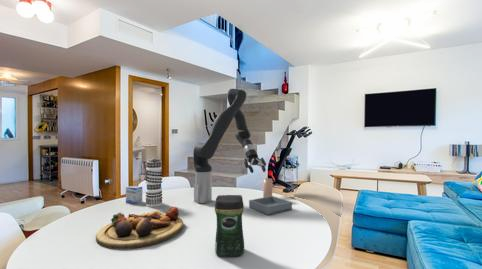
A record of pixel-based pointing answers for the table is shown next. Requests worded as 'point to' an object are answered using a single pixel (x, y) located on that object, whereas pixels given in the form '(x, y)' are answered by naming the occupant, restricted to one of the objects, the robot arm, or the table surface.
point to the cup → (267, 187)
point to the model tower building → (153, 182)
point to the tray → (270, 205)
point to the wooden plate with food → (140, 229)
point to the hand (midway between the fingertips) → (258, 171)
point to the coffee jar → (229, 225)
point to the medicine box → (133, 194)
